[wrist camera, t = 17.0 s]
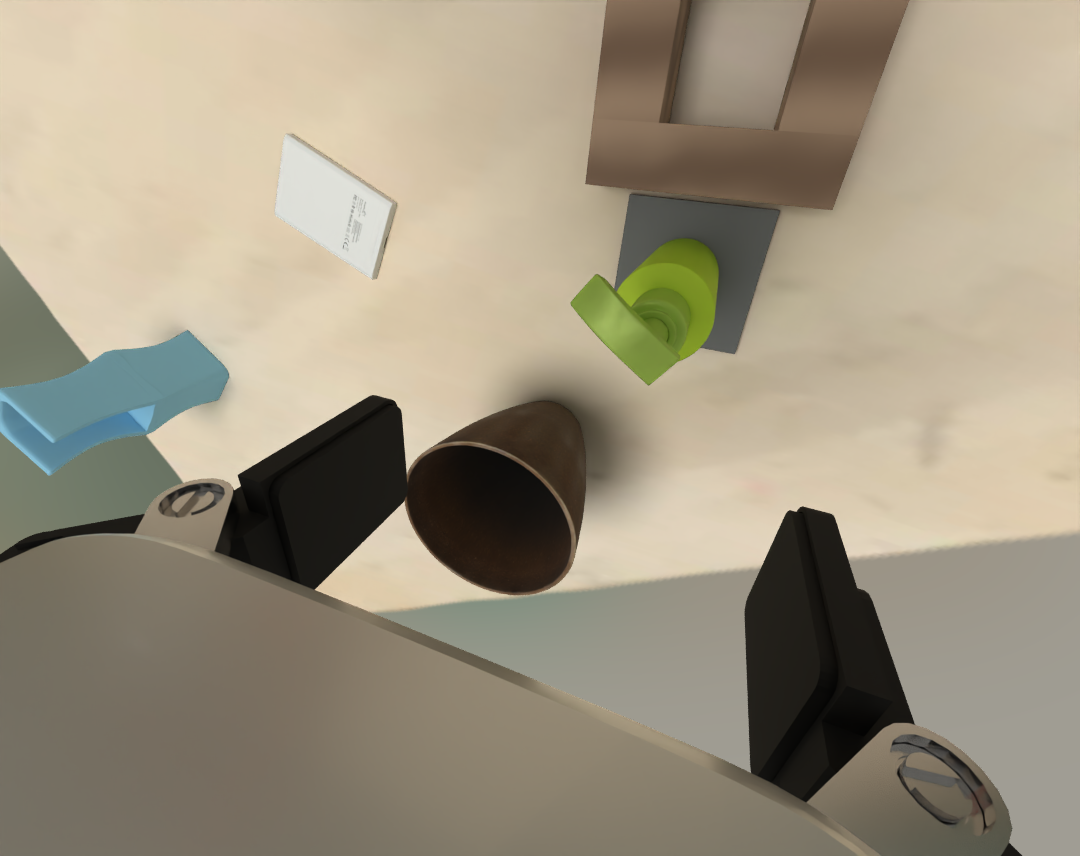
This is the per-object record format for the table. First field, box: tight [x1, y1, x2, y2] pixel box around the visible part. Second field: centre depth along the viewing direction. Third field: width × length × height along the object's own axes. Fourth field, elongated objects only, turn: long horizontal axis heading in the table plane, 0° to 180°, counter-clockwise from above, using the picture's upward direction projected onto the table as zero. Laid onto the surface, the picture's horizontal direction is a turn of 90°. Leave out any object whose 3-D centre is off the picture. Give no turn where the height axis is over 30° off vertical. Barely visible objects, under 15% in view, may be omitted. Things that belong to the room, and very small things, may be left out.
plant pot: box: [405, 401, 586, 595], centre depth 43 cm, size 15×15×16 cm
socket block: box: [585, 0, 909, 210], centre depth 28 cm, size 16×16×5 cm
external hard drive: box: [275, 134, 397, 280], centre depth 46 cm, size 2×8×12 cm
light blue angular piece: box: [0, 330, 229, 475], centre depth 56 cm, size 8×8×20 cm
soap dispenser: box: [571, 238, 719, 385], centre depth 29 cm, size 6×7×20 cm
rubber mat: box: [614, 194, 780, 354], centre depth 37 cm, size 11×11×1 cm
